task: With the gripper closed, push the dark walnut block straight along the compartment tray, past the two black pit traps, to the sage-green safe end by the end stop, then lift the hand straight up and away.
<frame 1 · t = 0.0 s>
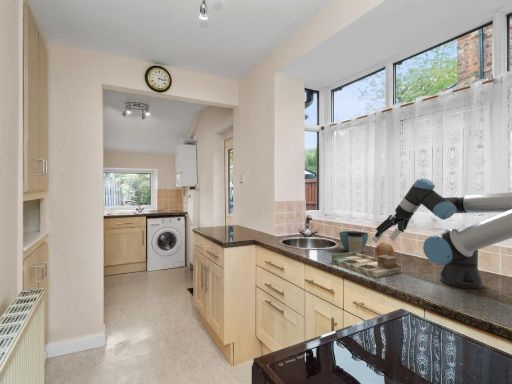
hand: (382, 240, 139), 15 cm above the counter, tool tilted 35°, fingers open, 13 cm apart
onion: (384, 260, 160), on the counter
block: (386, 266, 136), point 2 cm above the counter, touching compartment tray
coffee cup: (354, 257, 167), on the counter
plant pot: (353, 251, 182), on the counter
compartment tray: (364, 267, 143), on the counter
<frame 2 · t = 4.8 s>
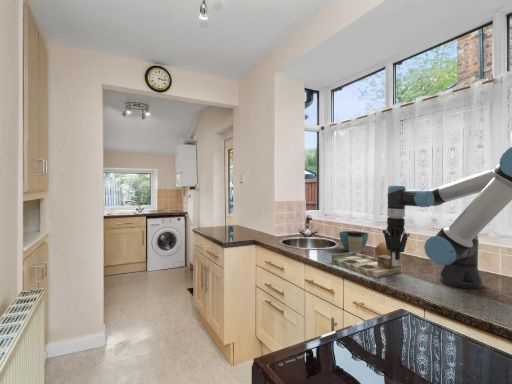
hand: (394, 265, 133), 4 cm above the counter, tool pointing down, fingers closed
block: (386, 266, 136), point 2 cm above the counter, touching compartment tray, gripper
everything else where it was.
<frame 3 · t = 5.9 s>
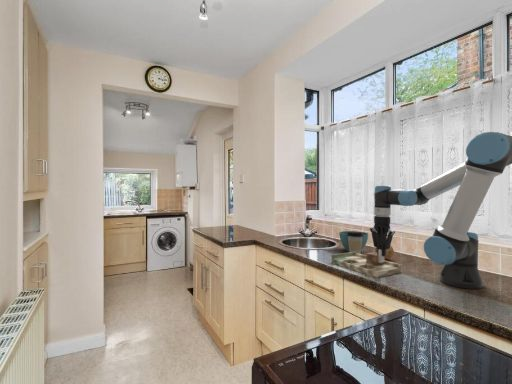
hand: (381, 262, 139), 4 cm above the counter, tool pointing down, fingers closed
block: (375, 263, 142), point 3 cm above the counter, touching gripper
everything else where it was.
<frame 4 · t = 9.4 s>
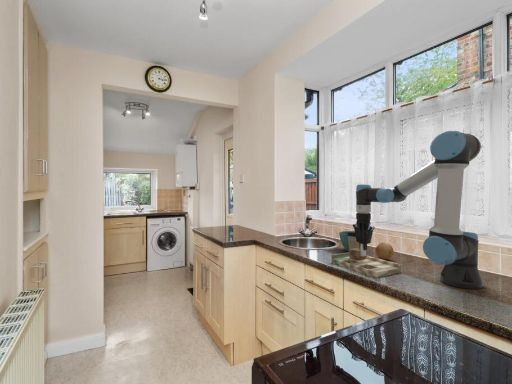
hand: (363, 255, 149), 5 cm above the counter, tool pointing down, fingers closed
block: (357, 258, 152), point 3 cm above the counter, touching compartment tray, gripper
everything else where it was.
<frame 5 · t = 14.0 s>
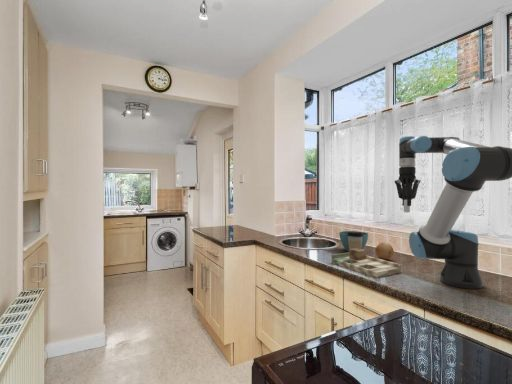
hand: (406, 212, 142), 29 cm above the counter, tool pointing down, fingers closed
block: (357, 258, 152), point 2 cm above the counter, touching compartment tray
everything else where it was.
at the end: block inside the target area (1.4 cm from its centre), point 2.5 cm above the counter; block tilted 0° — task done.
